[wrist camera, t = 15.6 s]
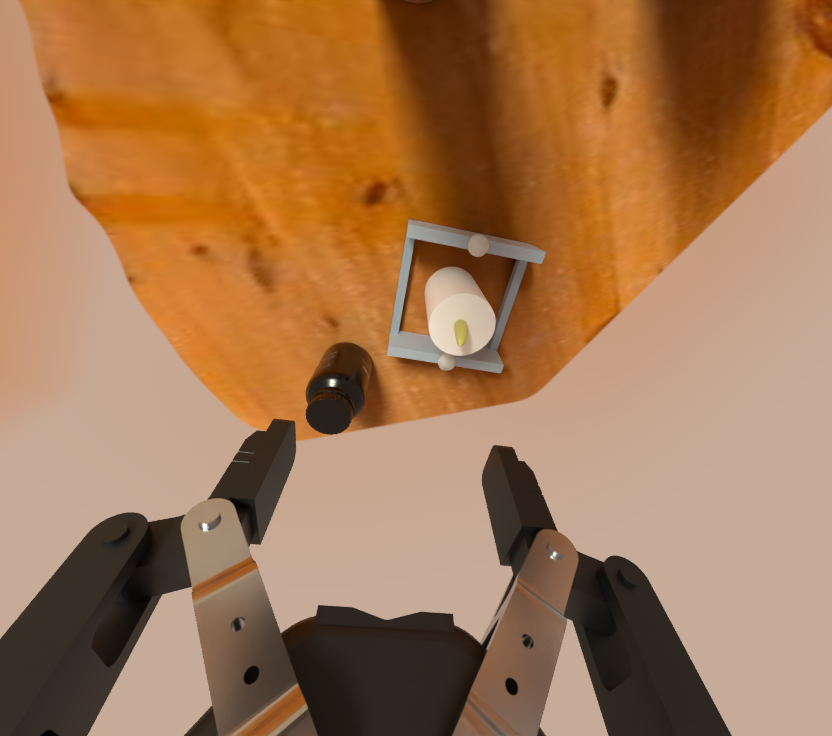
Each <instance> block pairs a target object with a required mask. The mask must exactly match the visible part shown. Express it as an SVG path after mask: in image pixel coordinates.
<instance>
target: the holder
mask: <svg viewBox="0 0 832 736" xmlns="http://www.w3.org/2000/svg"><path fill="white" fill-rule="evenodd" d="M415 239H418V240H423V241H428V242H433V243H438V244H443V245H448V246H453V247H458V248H463V249H468V251H469V252H470V253H471V255H473V256H475V257H480V256H483V255H484V254H485V253H488V254H493V255H498V256H503V257H508V258H513V259H516V261H515V264H514V267H513V270H512V273H511V276H510V279H509V282H508V285H507V288H506V291H505V294H504V297H503V300H502V303H501V306H500V309H499V312H498V315H497V319H496V324H495V331H494V333H493V335H492V338H491V339H490V340H489V343H488V345H485V346H484V347H483V348H481V349H480V350H478V351H476V352H474V353H472V354H468V355H464V356H455V355H451V354H447V353H445V352H444V351H442V350H440V349H439V348H438V347H437V346H436V345H435V344H434V342H433V341H432V339H431V337H430V336H429V335H423V334H417V333H411V332H405V331H400V330H399V327H400V321H401V315H402V310H403V304H404V298H405V293H406V287H407V281H408V276H409V270H410V264H411V259H412V253H413V247H414V242H415ZM545 254H546V252H545V251H543V250H541V249H539V248H537V247H535V246H533V245H532V244H529V243H524V242H519V241H514V240H509V239H505V238H500V237H495V236H490V235H485V234H480V233H476V232H471V231H466V230H461V229H456V228H451V227H446V226H442V225H437V224H432V223H427V222H422V221H417V220H413V219H409V221H408V227H407V233H406V239H405V245H404V251H403V257H402V264H401V270H400V276H399V282H398V288H397V294H396V300H395V306H394V312H393V319H392V325H391V331H390V337H389V344H388V352H387V355H389V356H395V357H402V358H408V359H414V360H420V361H426V362H433V363H438V365H439V367H440V369H442V370H444V371H449V370H451V369H453V368H454V366H458V367H464V368H470V369H476V370H483V371H489V372H495V373H501V372H502V369H503V367H504V364H503V362H502V360H501V358H500V356H499V354H498V352H497V349H498V346H499V343H500V340H501V337H502V335H503V332H504V329H505V326H506V323H507V320H508V317H509V315H510V312H511V309H512V306H513V303H514V300H515V297H516V295H517V292H518V289H519V286H520V283H521V280H522V277H523V275H524V272H525V269H526V266H527V263H528V262H533V263H538V264H542V262H543V259H544V256H545Z"/></svg>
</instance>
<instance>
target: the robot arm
mask: <svg viewBox="0 0 832 736" xmlns="http://www.w3.org/2000/svg"><path fill="white" fill-rule="evenodd" d="M403 1H406V2H409V3H417V4H421V3H426V2H431V1H433V0H403ZM295 453H296V433H295V422H294V421H290V420H282V419H273V421H272V422H271V424H270V426H269V428H268V429H267V431H256V432H255V433H253V434H252V435H251V436H249V437H248V438H247V439H245V441H244V443H243V444H242V446H241V448H240V449H239V452H238V453H237V454H236V456H235V457H234V459H233V462H231V464H230V465H229V467H228V468H227V470H226V472H225V473H224V475H223V476H222V478H221V480H220V481H219V483H218V484H217V486H216V488H215V489H214V491H213V493H212V494H211V496H210V497H209V498H208V500H206V501H203V502H201V503H199V504H198V505H196V506H194V507H193V508H192V509H191V510H190V511H189V512H188V513H187V514H185V515H182V516H179V517H175V518H169V519H163V520H158V521H153V522H148V521H147V519H146V518H145V517H144V516H143V515H141V514H139V513H133V512H132V513H122V514H118V515H116V516H113V517H110V518H108V519H106V520H104V521H102V522H101V523H99V524H98V525H96V526H95V527H94V528H93V529H92V530H90V532H89V533H88V534H87V535H86V536H85V537H84V538H83V540H82V541H81V542H80V543H79V545H78V546H77V547H76V548H75V549H74V551H73V552H72V553H71V554H70V555H69V557H68V558H67V559H66V560H65V561H64V563H63V564H62V565H61V566H60V567H59V569H58V570H57V571H56V572H55V573H54V575H53V576H52V577H51V579H50V580H49V581H48V582H47V583H46V584H45V586H44V587H43V588H42V589H41V591H40V592H39V593H38V594H37V595H36V597H35V598H34V599H33V600H32V601H31V603H30V604H29V605H28V606H27V607H26V609H25V610H24V611H23V612H22V613H21V615H20V616H19V617H18V618H17V620H16V621H15V622H14V623H13V624H12V626H11V627H10V628H9V629H8V630H7V632H6V633H5V634H4V635H3V636H2V638H1V639H0V736H87V735H88V733H89V731H90V729H91V727H92V725H93V724H94V722H95V720H96V718H97V716H98V714H99V712H100V710H101V709H102V706H103V705H104V703H105V701H106V699H107V697H108V695H109V693H110V692H111V690H112V688H113V686H114V684H115V682H116V680H117V678H118V677H119V675H120V673H121V671H122V669H123V667H124V665H125V663H126V662H127V660H128V658H129V656H130V654H131V652H132V650H133V648H134V646H135V645H136V643H137V641H138V639H139V637H140V635H141V633H142V631H143V629H144V627H145V626H146V624H147V622H148V620H149V618H150V616H151V615H152V612H153V611H154V609H155V607H156V605H157V603H158V601H159V599H160V598H161V596H162V594H165V593H169V592H173V591H177V590H181V589H184V588H189V587H192V591H193V592H192V599H193V606H194V611H195V616H196V621H197V626H198V632H199V637H200V642H201V648H202V653H203V658H204V664H205V669H206V674H207V679H208V685H209V690H210V695H211V701H212V706H211V707H210V708H209V709H208V711H206V713H205V714H204V715H203V716H202V717H201V718H200V719H199V720H198V721H197V722H196V723H195V724H194V725H193V726H192V728H191V729H190V730H189V731H188V732H187V733H186V734H185V735H184V736H546V735H545V734H544V732H543V731H542V729H541V728H540V727H539V726H540V722H541V718H542V715H543V711H544V707H545V704H546V700H547V696H548V693H549V689H550V685H551V681H552V677H553V674H554V670H555V666H556V662H557V659H558V655H559V651H560V647H561V644H562V640H563V636H564V633H565V629H566V624H567V619H570V620H572V621H573V624H574V627H575V630H576V633H577V636H578V639H579V643H580V646H581V649H582V652H583V655H584V659H585V662H586V665H587V668H588V672H589V675H590V678H591V681H592V684H593V687H594V690H595V694H596V697H597V700H598V703H599V707H600V710H601V713H602V716H603V719H604V722H605V726H606V729H607V732H608V735H609V736H731V734H730V732H729V730H728V728H727V727H726V724H725V722H724V721H723V719H722V717H721V716H720V713H719V711H718V709H717V708H716V706H715V704H714V702H713V700H712V698H711V696H710V695H709V693H708V691H707V689H706V687H705V685H704V683H703V681H702V680H701V678H700V676H699V674H698V672H697V670H696V668H695V666H694V664H693V663H692V661H691V659H690V657H689V655H688V654H687V652H686V650H685V648H684V646H683V644H682V642H681V640H680V638H679V636H678V635H677V633H676V631H675V629H674V627H673V625H672V623H671V621H670V620H669V618H668V616H667V614H666V612H665V610H664V609H663V607H662V605H661V603H660V601H659V599H658V597H657V595H656V593H655V592H654V590H653V588H652V586H651V584H650V582H649V580H648V579H647V577H646V576H645V574H644V573H643V572H642V571H641V570H640V569H639V568H638V567H637V566H636V565H635V564H634V563H632V562H631V561H629V560H627V559H625V558H623V557H620V556H610V557H608V558H607V559H606V560H605V561H604V562H602V561H599V560H597V559H594V558H592V557H589V556H587V555H584V554H582V553H580V552H578V551H576V549H575V547H574V545H573V544H572V543H571V541H570V540H569V539H568V538H567V537H565V536H564V535H563V534H561V533H559V532H558V531H557V529H556V526H555V524H554V521H553V519H552V516H551V514H550V512H549V509H548V507H547V504H546V502H545V499H544V497H543V495H542V492H541V490H540V487H539V486H538V482H537V480H536V478H535V475H534V473H533V471H532V470H531V469H530V468H529V467H528V465H527V464H526V463H525V462H524V461H518V458H517V456H516V453H515V450H514V449H513V448H512V447H506V446H497V445H494V446H493V447H492V449H491V452H490V454H489V457H488V460H487V462H486V465H485V467H484V470H483V474H482V486H483V490H484V495H485V499H486V503H487V508H488V512H489V516H490V521H491V525H492V529H493V534H494V538H495V543H496V547H497V551H498V556H499V560H500V565H504V566H511V567H512V571H513V576H512V577H511V579H510V581H509V584H508V586H507V588H506V590H505V592H504V594H503V597H502V599H501V601H500V603H499V605H498V608H497V610H496V612H495V614H494V616H493V618H492V620H491V622H490V625H489V626H488V628H487V630H486V632H485V634H484V636H483V638H482V640H481V642H480V643H479V642H478V641H477V640H476V639H475V638H474V637H473V636H472V635H470V634H469V633H468V632H466V631H465V630H463V629H461V628H459V627H457V626H454V621H453V614H445V613H430V612H418V613H414V614H411V615H406V616H403V617H399V618H394V619H390V620H384V619H381V618H379V617H376V616H373V615H371V614H368V613H365V612H363V611H360V610H358V609H355V608H352V607H338V606H323V605H318V610H317V614H316V616H314V617H310V618H307V619H304V620H302V621H300V622H298V623H296V624H294V625H292V626H291V627H289V628H288V629H286V630H285V631H283V632H282V633H280V630H279V627H278V625H277V622H276V619H275V616H274V613H273V610H272V607H271V604H270V601H269V599H268V596H267V593H266V590H265V587H264V584H263V581H262V578H261V576H260V573H259V570H258V567H257V564H256V562H255V561H253V559H252V556H251V553H250V550H249V546H250V544H259V545H260V544H261V542H262V540H263V537H264V535H265V532H266V530H267V527H268V525H269V522H270V520H271V517H272V515H273V512H274V510H275V508H276V505H277V503H278V500H279V498H280V495H281V493H282V490H283V488H284V485H285V483H286V481H287V478H288V476H289V473H290V471H291V468H292V466H293V463H294V459H295Z"/></svg>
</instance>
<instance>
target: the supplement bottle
mask: <svg viewBox="0 0 832 736" xmlns="http://www.w3.org/2000/svg"><path fill="white" fill-rule="evenodd" d="M371 374H372V361H371V358H370V356H369V355H368V353H367V352H366V351H365V350H364V349H363V348H361V347H360V346H358V345H356V344H353V343H347V342H343V343H338V344H335V345H333V346H331V347H330V348H329V349H328V350H327V351H326V352H325V353H324V355H323V357H322V359H321V360H320V362H319V364H318V366H317V368H316V370H315V372H314V374H313V375H312V377H311V379H310V381H309V383H308V385H307V388H306V400H307V403H308V406H307V409H306V419H307V422H308V423H309V425H310V426H311V427H312V428H314V429H315V430H316V431H318V432H321V433H323V434H331V435H333V434H338V433H341V432H343V431H344V430H346V429H347V427H349V425H350V423H351V420H352V419H353V418H354V417H356V416H357V415H358V414H359V413H360V412H361V411H362V409H363V407H364V404H365V401H366V397H367V392H368V388H369V383H370V378H371Z"/></svg>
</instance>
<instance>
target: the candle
mask: <svg viewBox="0 0 832 736" xmlns="http://www.w3.org/2000/svg"><path fill="white" fill-rule="evenodd" d="M425 303H426V311H427V319H428V328H429V333H430V337H431V339H432V341H433V342H434V344H435V345H436V346H437V347H438V348H439V349H440V350H442V351H444V352H445V353H447V354H451V355H455V356H464V355H468V354H472V353H474V352H476V351H478V350H480V349H481V348H483V347H484V346H485V345H486V344H487V343H488V342H489V340H490V339H491V338H492V335H493V333H494V331H495V324H496V320H495V314H494V312H493V310H492V307H491V306H490V304H489V302H488V301H487V299H486V298H485V296H484V295H483V293H482V292H481V290H480V288H479V287H478V285H477V284H476V282H475V281H474V279H473V277H472V276H471V275H470V274H469V273H468V272H467V271H465V270H464V269H462V268H459V267H445V268H441V269H440V270H438V271H436V272H435V273H434V274H433V275H432V276H431V277H430V278H429V280H428V281H427V283H426V287H425Z"/></svg>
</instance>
